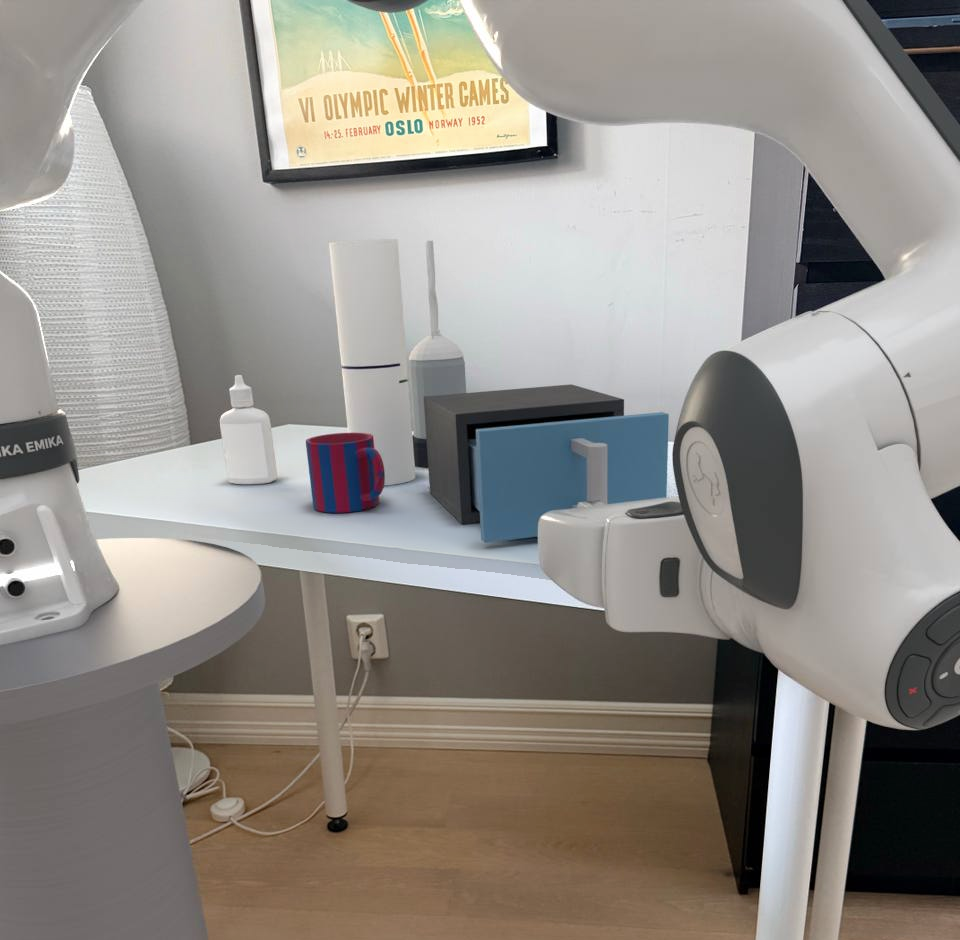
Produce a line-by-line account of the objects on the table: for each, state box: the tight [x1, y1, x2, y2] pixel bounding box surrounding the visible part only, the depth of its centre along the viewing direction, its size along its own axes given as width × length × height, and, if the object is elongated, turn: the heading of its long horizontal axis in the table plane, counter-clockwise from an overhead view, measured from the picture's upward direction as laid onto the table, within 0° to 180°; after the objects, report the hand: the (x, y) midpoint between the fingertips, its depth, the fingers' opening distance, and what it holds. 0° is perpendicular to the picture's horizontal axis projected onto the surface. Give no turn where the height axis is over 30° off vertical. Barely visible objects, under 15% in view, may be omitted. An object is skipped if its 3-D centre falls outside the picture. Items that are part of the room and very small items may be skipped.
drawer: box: [468, 411, 670, 544], centre depth 81 cm, size 19×16×9 cm
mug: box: [305, 432, 385, 514], centre depth 92 cm, size 7×10×7 cm
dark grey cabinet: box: [424, 384, 625, 525], centre depth 92 cm, size 14×16×10 cm
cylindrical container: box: [328, 238, 416, 486], centre depth 101 cm, size 7×7×25 cm
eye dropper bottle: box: [219, 374, 278, 485], centre depth 106 cm, size 4×6×12 cm
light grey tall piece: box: [407, 240, 467, 468], centre depth 110 cm, size 8×8×25 cm
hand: (651, 505), depth 64 cm, fingers open, 8 cm apart
